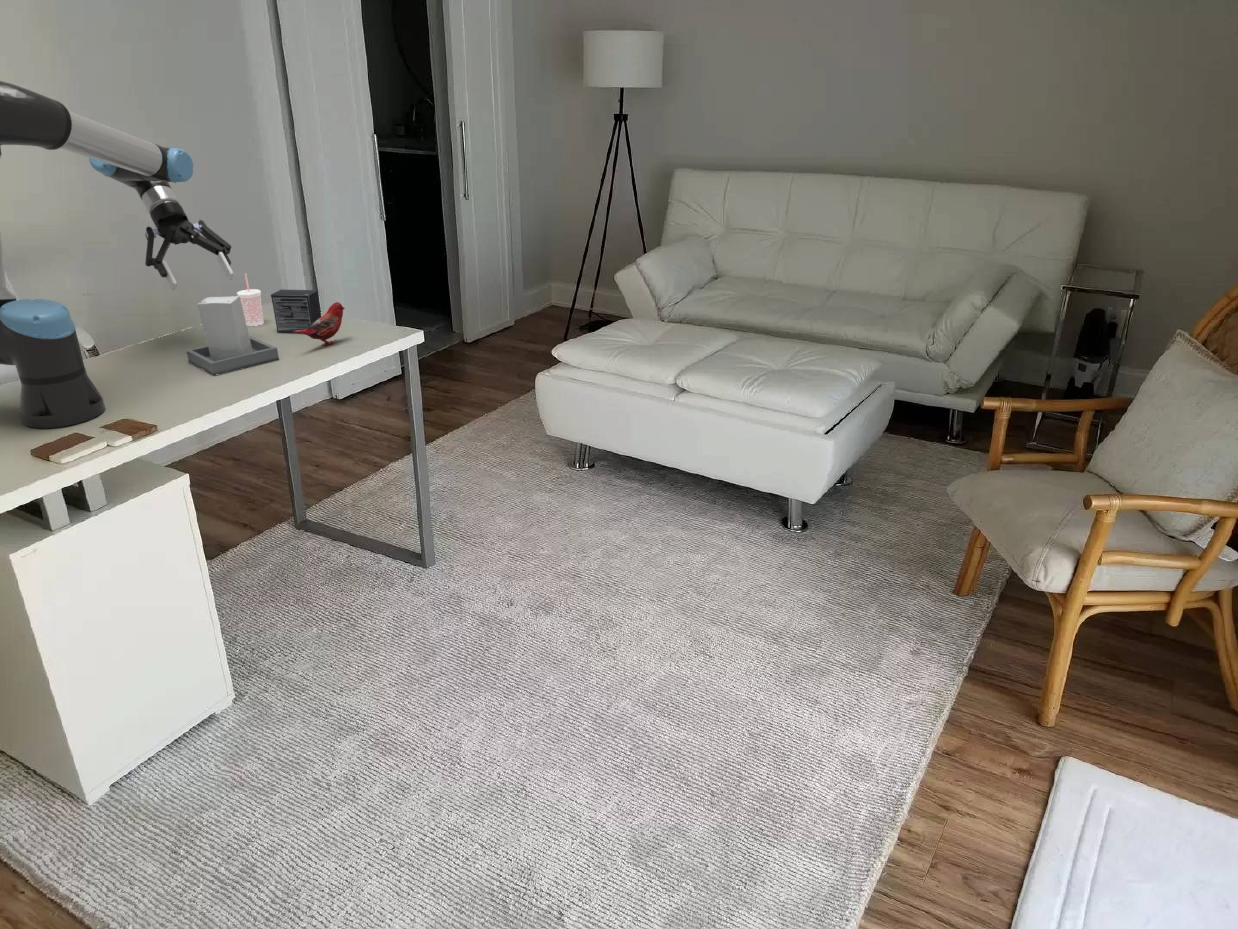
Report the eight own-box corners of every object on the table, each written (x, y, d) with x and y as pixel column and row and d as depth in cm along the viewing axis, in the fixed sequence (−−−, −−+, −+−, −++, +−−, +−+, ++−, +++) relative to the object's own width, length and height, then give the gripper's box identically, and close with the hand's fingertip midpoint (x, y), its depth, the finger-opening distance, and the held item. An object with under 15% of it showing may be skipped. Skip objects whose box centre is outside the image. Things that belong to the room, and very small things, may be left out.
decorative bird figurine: (352, 338, 234) (347, 300, 229) (299, 357, 220) (293, 317, 216) (344, 336, 235) (339, 299, 231) (291, 355, 221) (284, 315, 217)
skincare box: (253, 355, 219) (242, 295, 213) (243, 363, 214) (231, 302, 208) (220, 354, 220) (208, 295, 213) (209, 362, 214) (196, 301, 208)
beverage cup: (238, 325, 244) (228, 274, 238) (255, 319, 249) (246, 269, 243) (253, 328, 242) (244, 277, 236) (271, 322, 246) (262, 272, 240)
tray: (214, 375, 208) (211, 363, 206) (188, 362, 217) (186, 350, 215) (279, 359, 218) (277, 347, 217) (252, 347, 227) (250, 335, 226)
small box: (324, 327, 243) (318, 289, 239) (314, 334, 237) (308, 295, 233) (286, 326, 244) (280, 288, 239) (276, 333, 238) (269, 294, 234)
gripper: (213, 213, 230) (250, 281, 227) (109, 226, 214) (148, 300, 211) (218, 194, 224) (256, 263, 221) (112, 206, 208) (151, 281, 205)
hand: (203, 281), depth 216 cm, fingers open, 13 cm apart
